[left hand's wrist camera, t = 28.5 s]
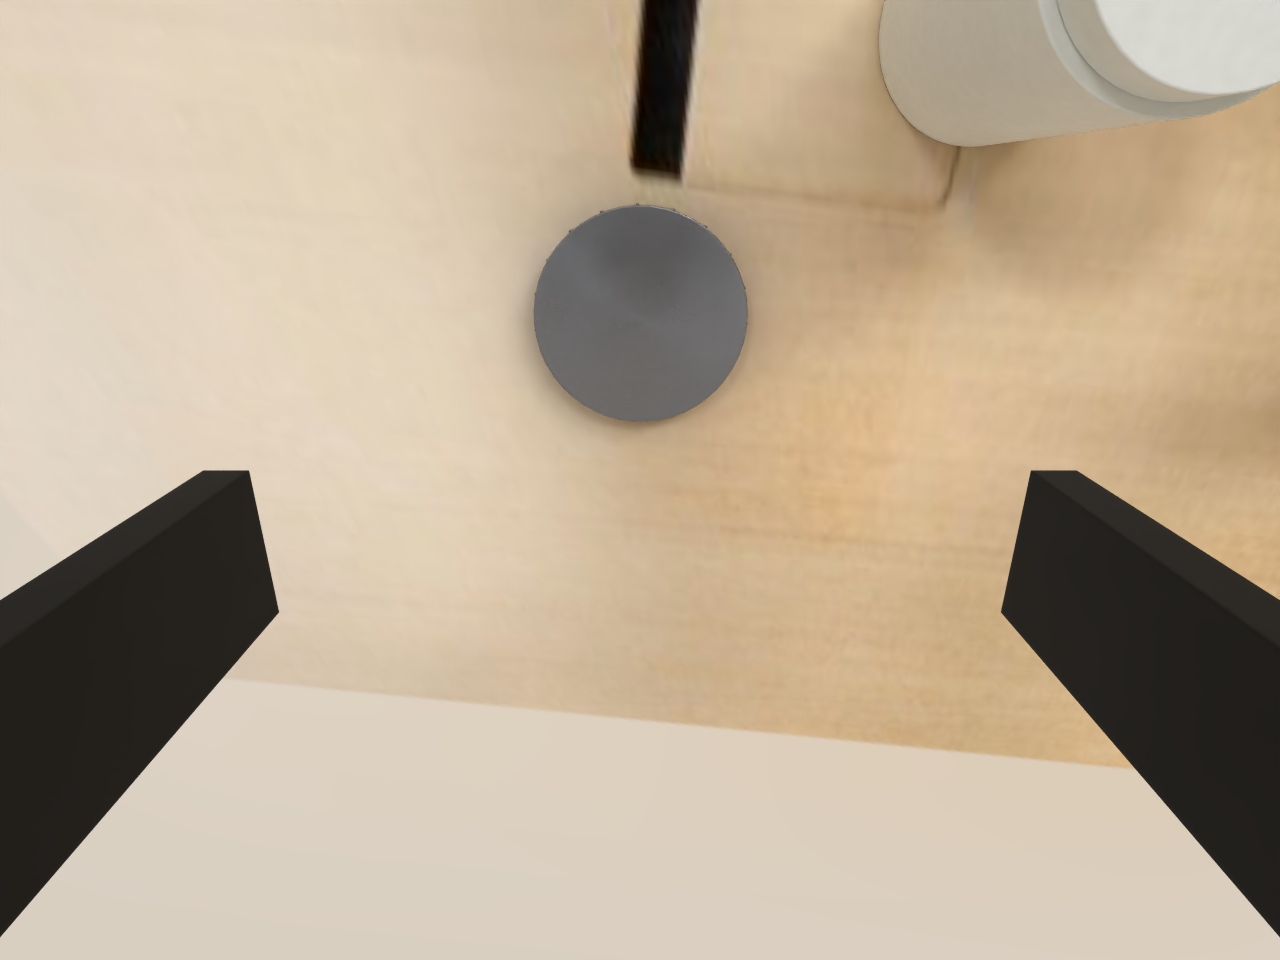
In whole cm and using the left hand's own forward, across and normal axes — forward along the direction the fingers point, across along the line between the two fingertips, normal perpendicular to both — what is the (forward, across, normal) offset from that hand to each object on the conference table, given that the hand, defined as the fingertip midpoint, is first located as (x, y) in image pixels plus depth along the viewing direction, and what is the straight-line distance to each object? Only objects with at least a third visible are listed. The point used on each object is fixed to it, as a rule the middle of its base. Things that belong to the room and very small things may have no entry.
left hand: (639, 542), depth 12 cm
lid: (+25, 0, 0) cm, 25 cm away
